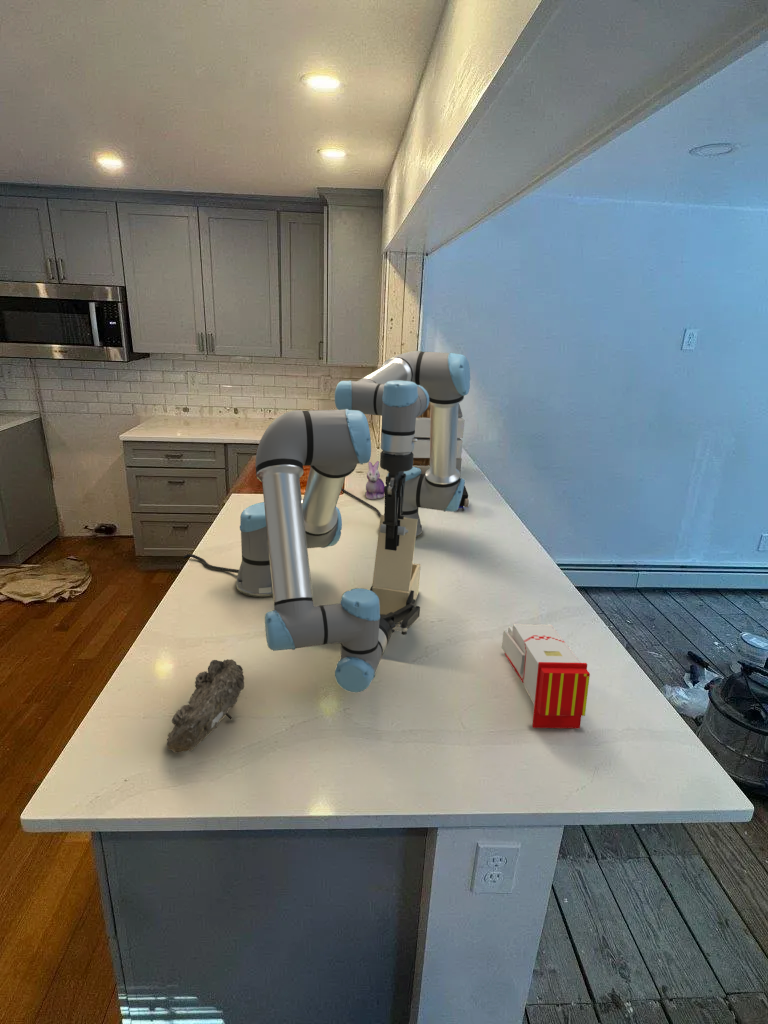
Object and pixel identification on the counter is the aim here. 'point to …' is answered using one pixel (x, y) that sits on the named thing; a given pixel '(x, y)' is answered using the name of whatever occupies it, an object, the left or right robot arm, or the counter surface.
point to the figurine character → (464, 499)
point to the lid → (395, 557)
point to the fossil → (206, 705)
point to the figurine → (374, 483)
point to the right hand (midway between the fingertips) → (392, 547)
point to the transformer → (423, 439)
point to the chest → (397, 593)
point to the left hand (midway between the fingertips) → (392, 592)
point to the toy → (548, 674)
